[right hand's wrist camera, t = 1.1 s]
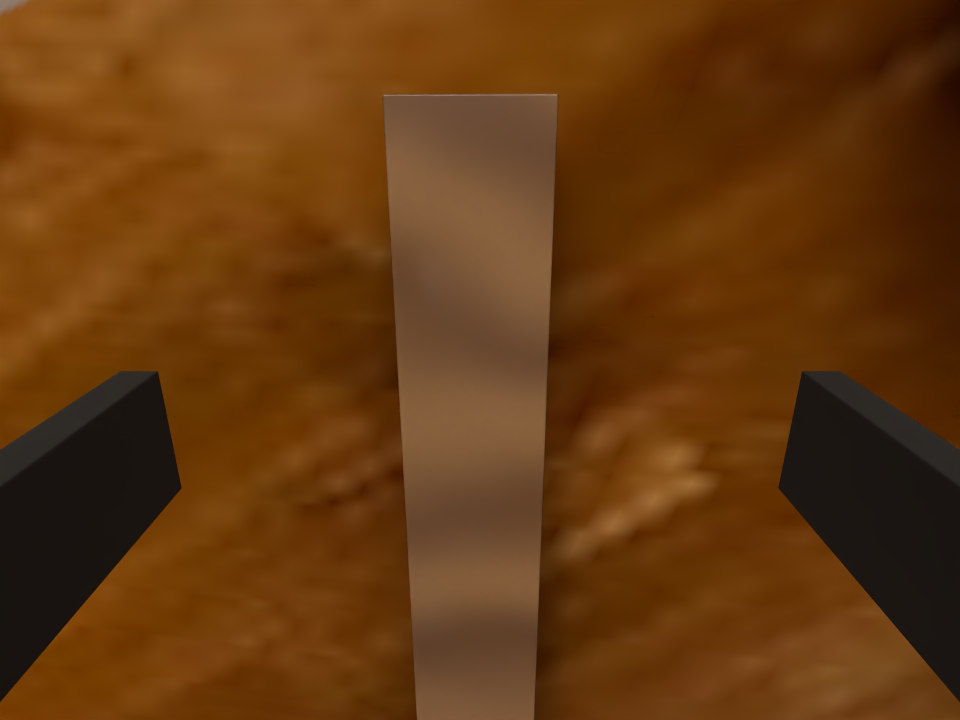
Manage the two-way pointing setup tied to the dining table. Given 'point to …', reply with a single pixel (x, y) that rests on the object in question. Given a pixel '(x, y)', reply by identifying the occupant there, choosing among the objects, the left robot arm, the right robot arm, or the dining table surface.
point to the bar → (472, 386)
